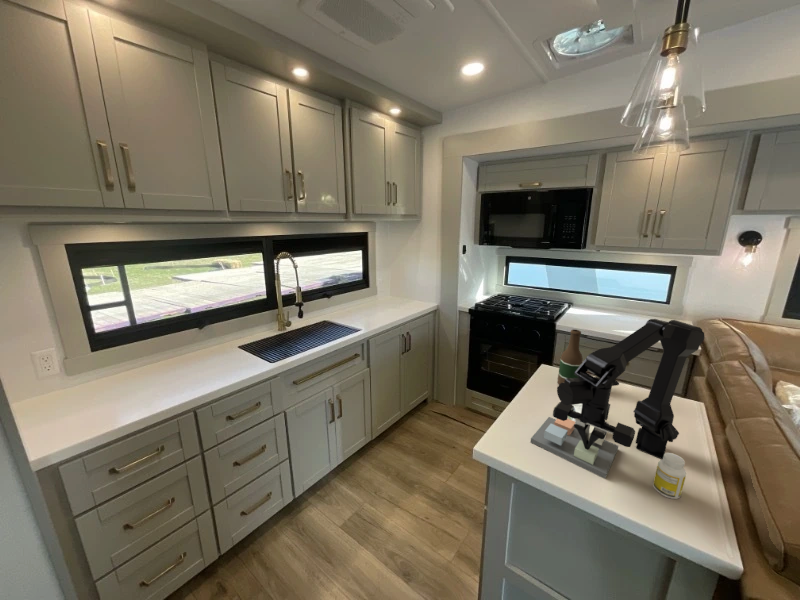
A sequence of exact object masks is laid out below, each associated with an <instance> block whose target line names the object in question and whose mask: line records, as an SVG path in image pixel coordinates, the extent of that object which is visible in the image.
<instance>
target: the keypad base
mask: <svg viewBox="0 0 800 600" xmlns="http://www.w3.org/2000/svg"><path fill="white" fill-rule="evenodd" d="M555 421H556V418H554V417H550V416H548V417H547V418H546V419H545V421H544V422H543V423H542V425H541V426H539V428H538V429H537V430H536V431H535V432H534V434H533V435H532V436H531V438H530V442H529V443H531V444H533V445H534V446H537V447H538V448H541V449H543V450H545V451H546V452H548V453H549V452H550V453H551V454H553V455H556V456H557V457H560V458H561V459H563V460H566V461H567V462H570V463H572V464H574V465H576V466H577V467H580V468H582V469H585V470H586V471H588V472H590V473H593V474H595V475H597V476H598V477H601V478H603V479H606V478H607V476H608V474H609V471H610V469H611V467H612V464H613V462H614V460H615V457H616V455H617V453H618V451H619V444H617V443H613V442H611V441H609V440H606V439H604V441H603V443H602V445H599V444H597V443H595V442H594V443H593V444H592V445H593V446H595V447H597V448H599V450H598V456H597V458H596V460H595V462H594V464H593V465H592V464H590V463H588V462H586V461H584V460H581V459H579V458H577V457H575V456H574V451H575V448H576V446H577V444H578V443H579V441H580V440H581V441H582V438H581V436H580V434H579V432H578V430H577V429H576V428H575V429H574V430H573V432H572V433H571V435H570V436H569V435H567V437H566V439H565V440H564V442H563V443H562V445H561V446H560V445H558V444H556V443H554V442H552V441H550V440H547V439H545V438H544V434H545V430H546V429H547V428H548V426H549V425H550V424H553V425H554V422H555Z"/></svg>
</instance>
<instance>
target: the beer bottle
mask: <svg viewBox="0 0 800 600" xmlns="http://www.w3.org/2000/svg"><path fill="white" fill-rule="evenodd" d="M581 334H582V331H581V330H579V329H571V330H570V336H569V340H568V345H567V348H566V349H565V350H563V352H562V354H561V357H560V359H559V368H558V374H557V385H559V384H560V383H563V382H565V379H566V378H578V376H577V375H575V374H574V373H575V371H576V370H577V369H578V368H579V366H580V365H581V364H582V363H583V362H584V360H583V355H582V353H581V351H580V340H581Z"/></svg>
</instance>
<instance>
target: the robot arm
mask: <svg viewBox="0 0 800 600" xmlns="http://www.w3.org/2000/svg"><path fill="white" fill-rule="evenodd" d="M704 340H705V332H704V331H703V329H702V328H701V327H699V326H696V325H693V324H689V323H686V322H682V321H680V320H676V319H671V320H669V321H667V320H660V319H658V318H650V319H648V320H647V321H646V323H645V324H644V325H643V326H641V327H639V328H638V329H637V330H635V331H634V332H632V333H630V334H629V335H628V336H627V337H625V338H624V339H622V340H620V341H619V342H617V343H616V344H614V345H613V346H610V347H609V346H608V347H603V348H599V349H597V350H595V351H593V352H591V353H589V354H588V355H587V356H586V358H585V359H584V360H583V361H582V364H581V365H580V366H579V368H578V369H577V370H576V371H575V373H574V374H575V375H577V376H578V378H566V379H565V382H563V383H560V384H558V386H557V388H556V392H557V397H558V399H559V400H560V402H558V403H557V404H556V406H554V408H553V410H552V418H554V419H560V420H562V421H565V420H567V419H569V418H568V416H569V417H572V418H574V419H575V421H576V422H575V424H574V428H576V429H577V430H578V432H579V434H580V436H581V438H582V441H583V444H584V447H585V449H587V450H588V449H589V448H590V447H591V445H592V444H593V443H594V442H595V441H596V440H597V439H599V438H600V439H604V437H605V436H606V437H607V433H609V434H612V438H611V439H612V440H613V441H614V443H615V444H617V445H620V446H624V447H626V448H631V446H632V443H633V441H634V439H635V434H636V430H635V429H634V427H632V426H629V425H627V424H624V423H621V422H617V423H616V426H614V425H612V424H610V423H609V422H608V421H607V420H608V417H609V412H610V408H611V403H610V398H611V392H612V389H613V388H612V387H615V386H619V385H620V382H619V381H618V380H616V379H618V378H619V377H620V376H621V375H622V374H623V373H625V371H626V368H627V365H628V363H629V362H630V361H632V360H634V358H636V357H638V356H639V355H641V354H642V353H644V352H645V351H647V350H648V349H650V348H652V346H654V345H655V344H657V343H658V342H660V344H661V348H662V351H663V352H662V355H661V357H660V361H659V364H658V367H657V370H656V372H655V376H654V379H653V382H652V384H651V388H650V391H649V394H648V396H647V397H646V398H644V399H643V400H638V401H636V405H635V408H634V410H633V413H634V414H633V415H634V416H633V418H635V423H636V424H637V425H639V426H640V427H639V428H638V431H637V435H636V439H635V444H636V446H635V449H637V450H639V451H641V452H644V453H646V454H649V455H651V456H654V457H656V458H659V459H660V460H662V459H663V456H664V454H665V453H666V450H667V444H668V442H669V443H673V442H674V441H675V440H676V439H677V438H678V436H679V435H680V432H679V431H678V430H677V428H676V427H675V426H674V424H673V422H674V418H675V414H674V411H673V409H672V405H671V403H672V400H673V397H674V394H675V393H676V389H677V387H678V386H677V385H678V384H679V383H678V382H679V380H680V377H681V374H682V372H683V369H684V367H685V363H686V361H687V358H688V357H689V356H691V355H692V354H693V353H695V352H697V351H699V348H700V346H701V345H702V343H703V342H704ZM588 372H590V373H591V374H593V375H594V376H593V375H591V374H589V373H588ZM574 404H582V411H581V413H578V412H576V411H574V406H573V405H574ZM590 425H591V426H594V429H593V431H592V433H591V435H590V438H589V429H590ZM604 440H605V439H604Z"/></svg>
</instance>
